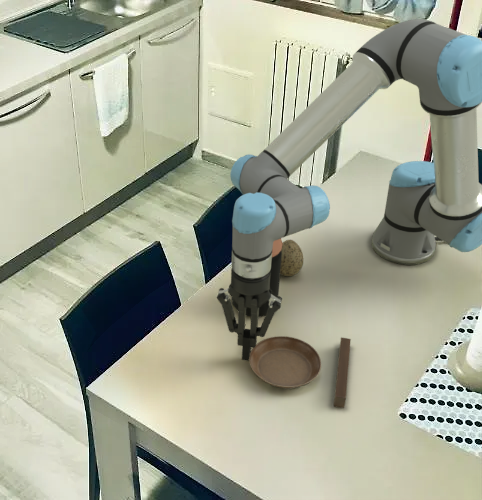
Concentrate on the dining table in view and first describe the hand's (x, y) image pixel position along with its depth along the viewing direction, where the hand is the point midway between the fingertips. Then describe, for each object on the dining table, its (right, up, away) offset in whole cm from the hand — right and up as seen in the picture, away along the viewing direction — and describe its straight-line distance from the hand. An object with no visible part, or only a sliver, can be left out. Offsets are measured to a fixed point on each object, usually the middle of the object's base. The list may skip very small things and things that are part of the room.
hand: (246, 355), depth 153 cm
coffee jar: (+4, +10, +16) cm, 19 cm away
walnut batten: (+19, -4, -3) cm, 20 cm away
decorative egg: (+13, +16, +24) cm, 32 cm away
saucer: (+8, -3, -1) cm, 8 cm away
